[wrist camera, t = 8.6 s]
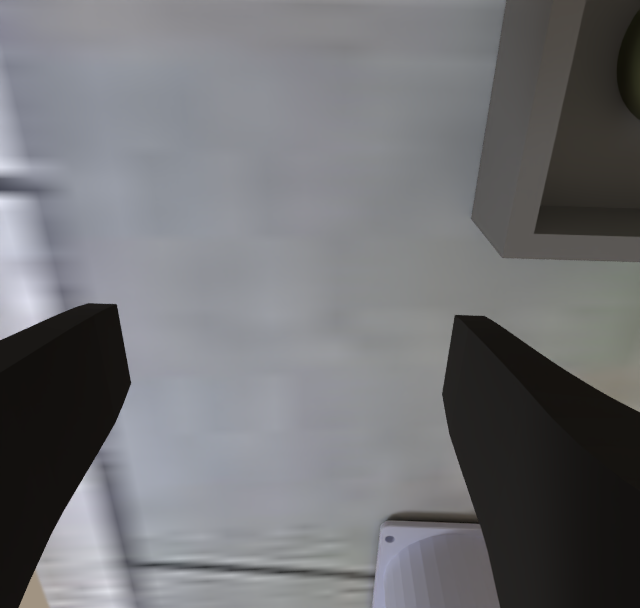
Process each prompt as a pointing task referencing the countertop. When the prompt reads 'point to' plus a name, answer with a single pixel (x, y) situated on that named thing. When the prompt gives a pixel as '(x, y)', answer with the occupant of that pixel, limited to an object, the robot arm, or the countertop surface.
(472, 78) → the countertop surface
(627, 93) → the green cylinder
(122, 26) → the countertop surface
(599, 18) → the bin
